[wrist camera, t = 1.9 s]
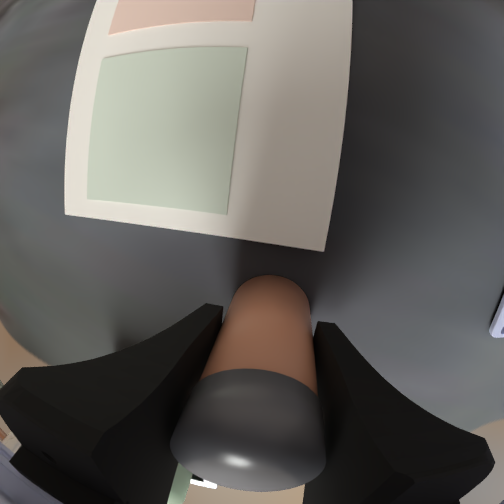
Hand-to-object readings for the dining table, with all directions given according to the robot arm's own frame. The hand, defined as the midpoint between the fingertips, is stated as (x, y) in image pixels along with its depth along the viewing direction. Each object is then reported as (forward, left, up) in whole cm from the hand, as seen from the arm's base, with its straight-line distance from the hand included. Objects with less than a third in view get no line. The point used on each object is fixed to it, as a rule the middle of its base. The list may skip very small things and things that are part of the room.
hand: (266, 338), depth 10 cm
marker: (0, 0, -2) cm, 2 cm away
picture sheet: (+4, -11, -2) cm, 12 cm away
